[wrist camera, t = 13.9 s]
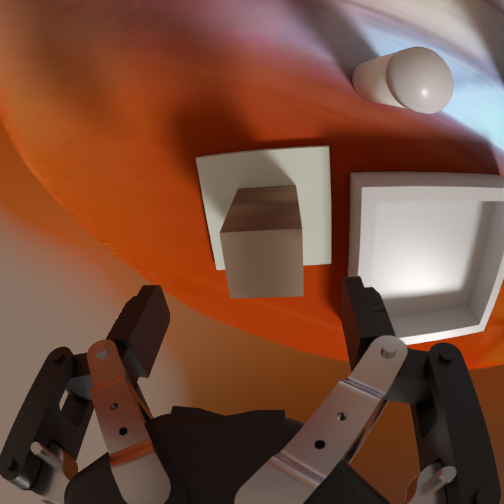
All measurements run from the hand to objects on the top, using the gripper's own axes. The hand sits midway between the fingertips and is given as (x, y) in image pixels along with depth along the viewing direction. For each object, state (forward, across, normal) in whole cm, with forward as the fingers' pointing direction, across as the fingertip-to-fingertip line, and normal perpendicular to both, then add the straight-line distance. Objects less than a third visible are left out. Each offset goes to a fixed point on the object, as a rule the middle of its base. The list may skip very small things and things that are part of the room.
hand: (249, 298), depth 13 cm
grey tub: (+10, -14, +5) cm, 18 cm away
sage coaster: (+10, 0, 0) cm, 10 cm away
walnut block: (+10, 0, 0) cm, 10 cm away
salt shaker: (+10, -8, -9) cm, 16 cm away
